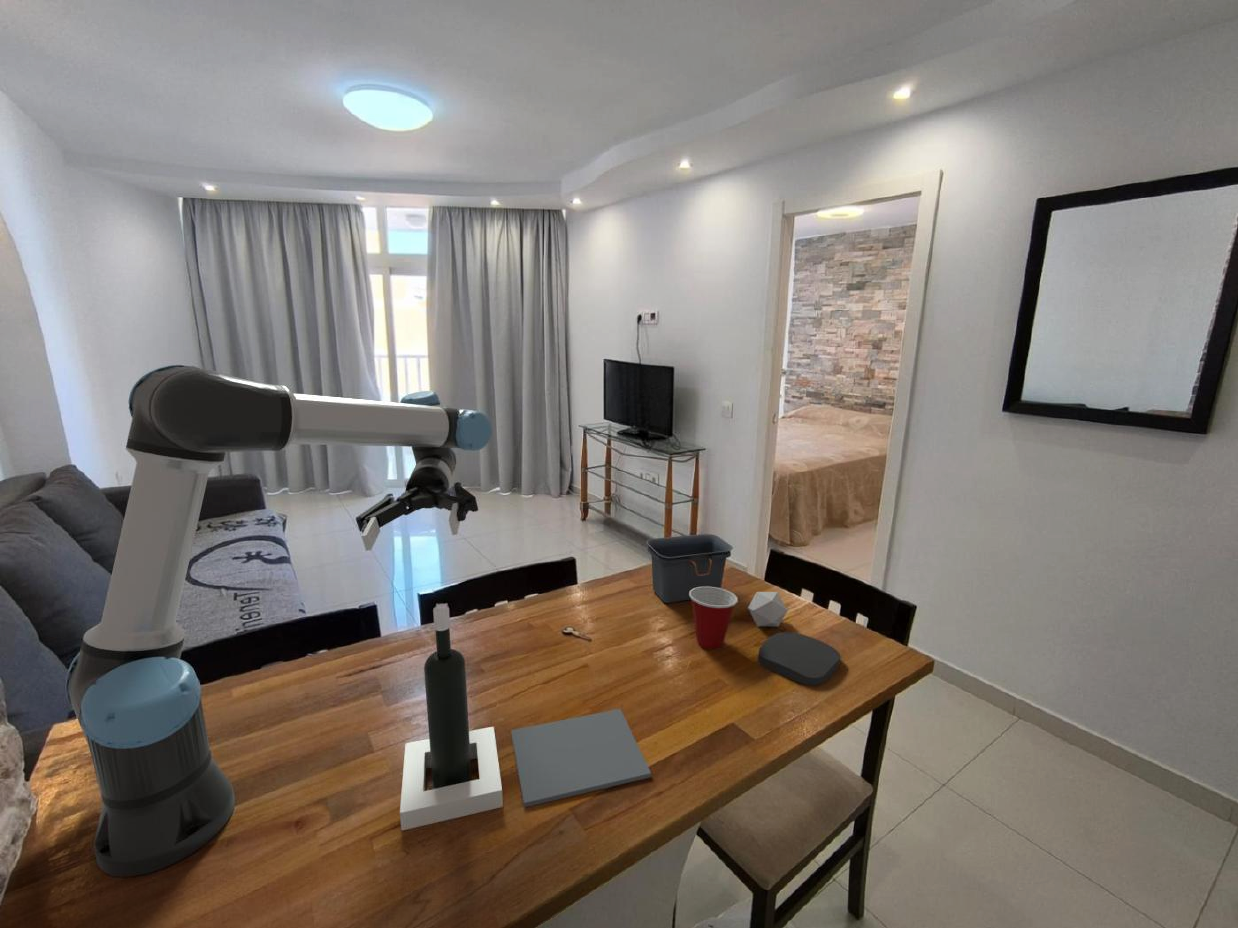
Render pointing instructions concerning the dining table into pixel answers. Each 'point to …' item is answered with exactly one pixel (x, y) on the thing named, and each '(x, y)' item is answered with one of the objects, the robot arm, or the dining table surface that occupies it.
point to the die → (767, 609)
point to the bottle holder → (454, 798)
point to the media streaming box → (799, 658)
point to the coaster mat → (576, 756)
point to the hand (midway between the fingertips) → (409, 535)
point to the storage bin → (687, 564)
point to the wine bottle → (447, 707)
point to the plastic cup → (711, 614)
